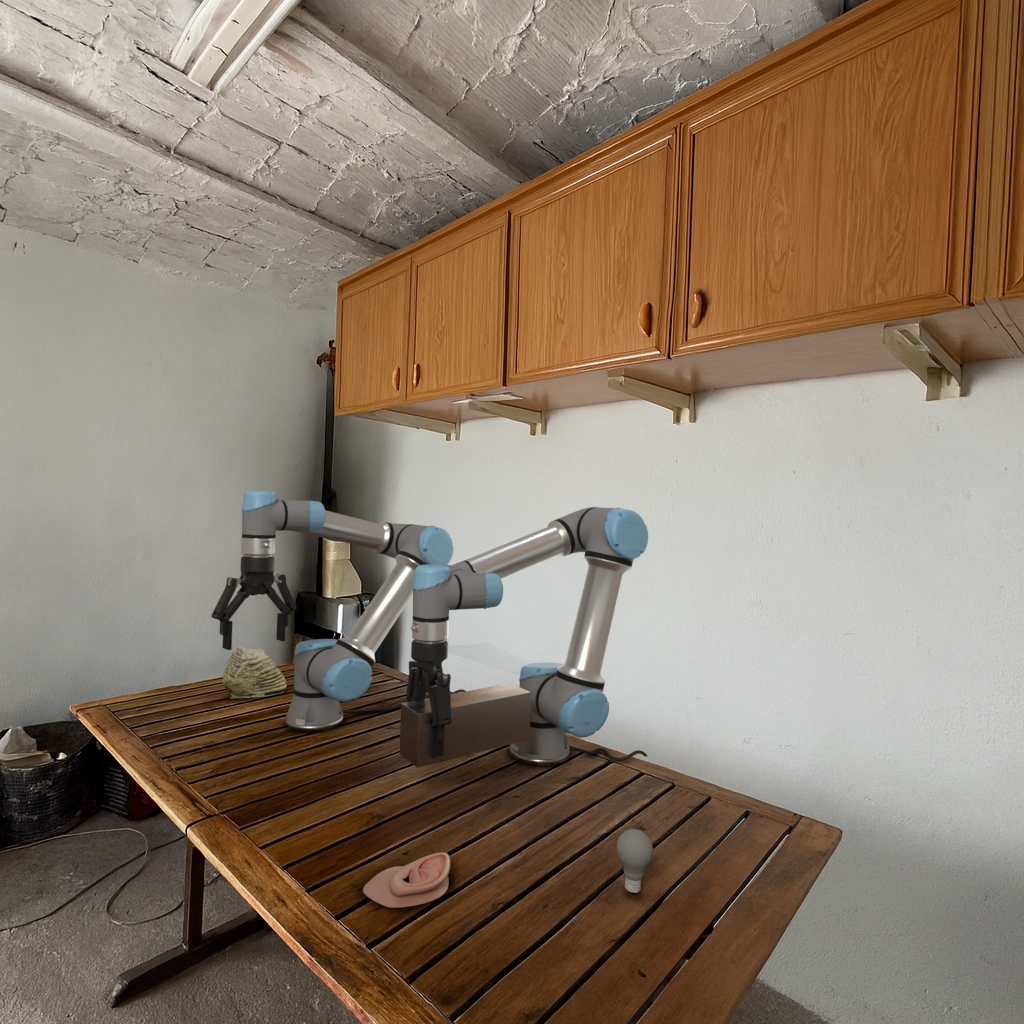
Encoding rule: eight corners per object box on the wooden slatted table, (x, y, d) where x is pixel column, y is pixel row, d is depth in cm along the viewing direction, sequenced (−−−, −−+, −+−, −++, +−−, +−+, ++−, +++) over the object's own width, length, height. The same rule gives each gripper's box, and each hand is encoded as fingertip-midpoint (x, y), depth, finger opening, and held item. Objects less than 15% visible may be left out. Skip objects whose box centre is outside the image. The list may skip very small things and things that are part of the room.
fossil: (218, 695, 195) (220, 647, 195) (278, 685, 208) (279, 640, 207) (228, 703, 189) (230, 653, 188) (289, 692, 201) (290, 645, 201)
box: (509, 728, 149) (510, 683, 148) (529, 739, 142) (531, 692, 142) (399, 754, 132) (400, 703, 132) (417, 768, 126) (418, 714, 125)
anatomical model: (355, 876, 100) (384, 838, 111) (354, 901, 100) (383, 861, 111) (435, 890, 97) (457, 850, 108) (434, 916, 97) (456, 873, 108)
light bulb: (610, 879, 108) (613, 822, 108) (644, 879, 109) (647, 822, 109) (619, 902, 102) (622, 840, 102) (655, 901, 103) (658, 840, 103)
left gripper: (213, 559, 139) (210, 656, 139) (312, 554, 158) (309, 639, 158) (197, 556, 143) (194, 649, 144) (295, 552, 163) (292, 634, 163)
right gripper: (391, 631, 137) (388, 736, 138) (438, 653, 120) (435, 771, 121) (422, 628, 141) (419, 729, 142) (472, 648, 125) (468, 762, 125)
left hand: (254, 644), depth 151 cm, fingers open, 13 cm apart
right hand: (426, 748), depth 131 cm, fingers closed on box, 8 cm apart
